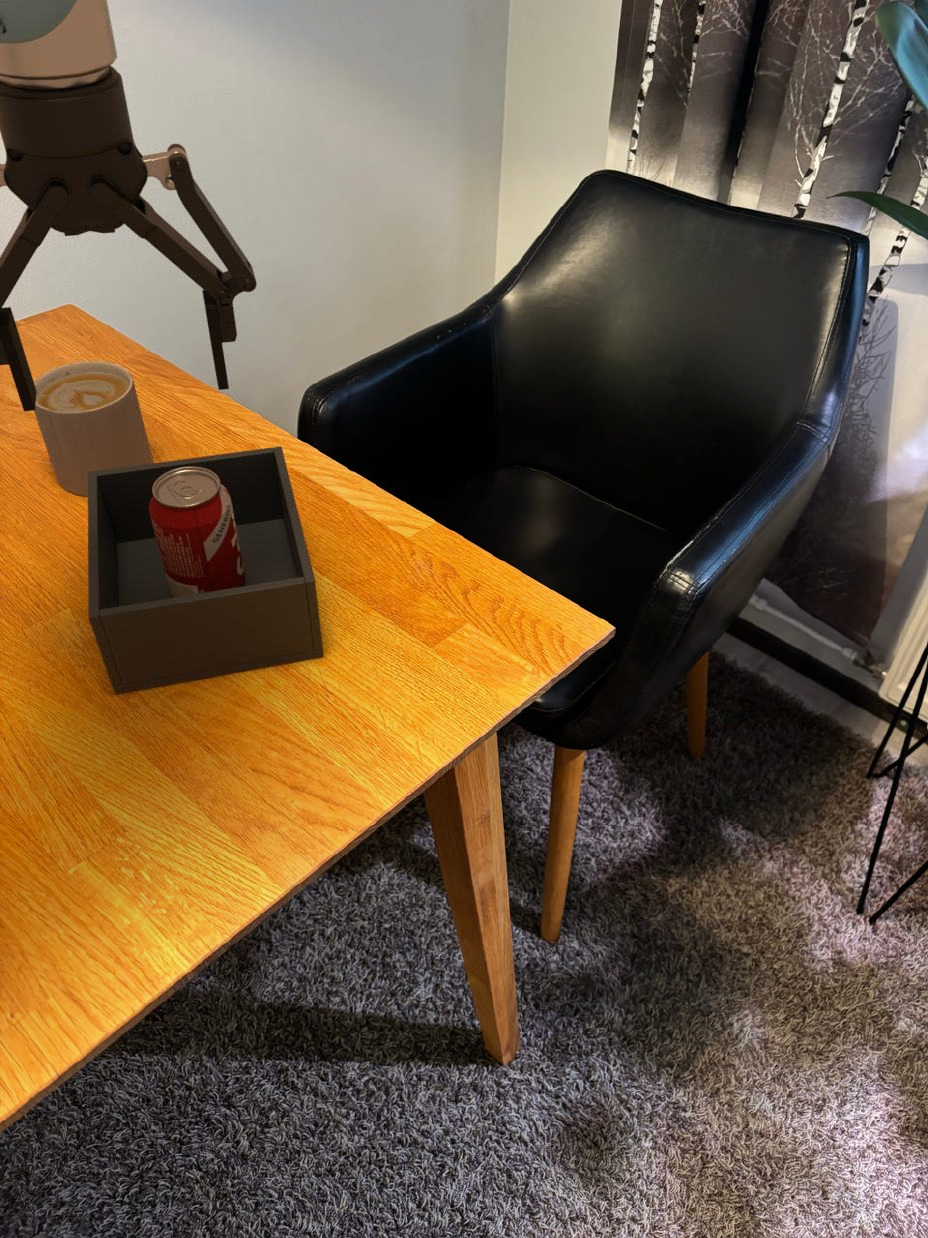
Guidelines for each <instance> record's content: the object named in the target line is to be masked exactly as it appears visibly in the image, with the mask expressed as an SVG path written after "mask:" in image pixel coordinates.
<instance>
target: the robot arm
mask: <svg viewBox="0 0 928 1238" xmlns="http://www.w3.org/2000/svg"><path fill="white" fill-rule="evenodd" d="M117 59H118V52H117V47H116V42H115V37H114V31H113V25H112V20H111V15H110V9H109V4H108V0H0V136H1V139H2V143H3V146H4V150H5V156H6V157H5V163H0V188H2V187H6V188H8V190H9V191H10V192H11V193H12V194H13V195H14V196H16V197H17V198H18V199H19V200H20V201H21V202H22V203H23V204H25V206H27V207H26V209H25V211H24V213H23V215H22V218H21V219H20V221H19V223H18V225H17V227H16V228H15V230H14V232H13V234H12V235H11V237H10V238H9V241H8V242H7V244H6V246H5V247H4V250H3V251H2V253H1V255H0V366H9V370H10V373H11V375H12V379H13V382H14V385H15V388H16V391H17V395H18V397H19V401H20V403H21V406H22V410H23V412H34V410H35V406H36V388H35V384H34V382H35V381H34V378H33V375H32V371H31V368H30V365H29V362H28V358H27V356H26V352H25V349H24V345H23V343H22V339H21V336H20V332H19V329H18V326H17V323H16V320H15V317H14V313H13V311H12V307H11V306H8V307H4V305H5V303H6V301H7V300H8V298H9V296H10V295H11V294H12V292H13V290H14V288H15V286H16V285H17V283H18V281H19V280H20V278H21V277H22V275H23V273H24V272H25V270H26V268H27V266H28V265H29V263H30V261H31V259H32V258H33V256H34V254H35V253H36V251H37V249H38V248H39V247H40V246H41V245H42V243H43V242H44V240H45V239H46V237H47V235H48V233H49V232H50V230H51V229H53V230H54V231H56V232H59V233H62V234H64V237H74V236H80V235H83V234H85V233H88V232H92V233H99V234H115V233H116V230H117V229H120V228H121V227H122V226H124V225H125V226H126V227H127V228H128V229H130V230H131V231H132V232H133V233H134V234H135V235H137V236H138V237H139V238H140V239H143V240H145V241H146V242H148V243H149V244H150V245H151V246H152V247H154V248H155V250H157V251H158V252H159V253H160V254H161V255H162V256H164V257H165V258H166V259H167V260H169V261H170V262H171V263H172V264H173V265H175V266H176V267H177V268H178V270H180V271H181V272H183V274H185V275H186V276H187V277H188V278H190V279H191V280H192V281H193V282H194V283H195V284H196V285H197V286H199V287H200V288H201V289H202V290H201V291H202V298H203V304H204V311H205V316H206V323H207V328H208V334H209V341H210V347H211V354H212V360H213V364H214V372H215V377H216V384H217V389H218V391H223V390H230V387H229V379H228V372H227V367H226V360H225V353H224V348H223V346H224V345H223V344H225V343H234V342H236V340H237V337H238V332H237V324H236V317H235V309H234V300H235V298H236V297H237V296H238V295H240V294H242V293H243V292H245V293H251V292H253V291H255V290H256V288H257V279H256V276H255V272H254V269H253V266H252V264H251V262H250V261H249V259H248V257H247V256H246V255H245V254H244V252H243V250H242V249H241V247H240V246H239V244H238V243H237V242H236V240H235V238H234V237H233V235H232V234H231V232H230V231H229V229H228V228H227V226H226V225H225V223H224V222H223V220H222V219H221V217H220V216H219V214H218V212H217V211H216V210H215V208H214V207H213V205H212V204H211V202H210V201H209V199H208V198H207V196H206V195H205V194H204V192H203V191H202V189H201V187H200V186H199V184H198V183H197V181H196V180H195V179H194V176H193V172H192V168H191V164H190V161H189V158H188V153H187V151H186V149H185V147H184V146H183V145H182V144H179V143H172V144H170V145H169V146H168V147H167V149H166V150H167V151H163V152H157V153H152V154H146V155H142V153H141V152H140V150H139V148H138V147H137V145H136V143H135V140H134V139H135V138H134V134H133V129H132V124H131V119H130V112H129V109H128V103H127V98H126V93H125V87H124V83H123V82H124V81H123V77H122V75H121V73H120V72H118V71H117V69H116V68H115V67H114V66H112V65H113V64H114V63H115V61H116V60H117ZM149 177H153V178H155V179H157V180H158V181H159V183H160V184H161V185H162V187H163V188H164V189H166V191H167V190H168V191H176V194H177V196H178V198H179V200H180V203H181V204H182V206H183V207H184V209H185V211H187V213H188V215H189V216H190V217H191V220H192V221H193V222H194V223H195V225H196V226H197V228H198V229H199V230H200V232H201V234H202V235H203V236H204V238H205V239H206V241H207V243H209V245H210V247H211V248H212V249H213V251H214V252H215V254H216V255H217V257H218V258H219V260H220V261H221V263H222V264H223V265H224V266H225V268H226V269H227V270H226V271H222V270H221V269H220V268H219V267H218V266H217V265H216V264H215V263H214V262H212V261H211V260H210V259H209V258H207V256H205V254H204V253H202V252H201V251H200V250H199V249H198V248H197V247H195V246H194V245H193V243H191V242H190V241H189V240H188V239H187V238H186V237H184V236H183V235H182V234H181V233H180V232H179V231H178V230H176V228H174V226H172V225H171V224H170V223H169V222H168V221H167V220H166V219H164V218H163V217H162V216H161V215H160V214H159V213H158V212H157V211H155V209H154V207H153V206H152V205H151V204H150V203H149V201H147V200H146V199H145V198H144V197H142V196H141V193H142V192H143V189H145V186H146V184H147V183H148V182H147V181H148V178H149Z"/></svg>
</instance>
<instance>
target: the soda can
mask: <svg viewBox="0 0 928 1238" xmlns="http://www.w3.org/2000/svg"><path fill="white" fill-rule="evenodd" d="M152 492H153V497H152V499H151V501H150V504H149V513H150V516H151V520H152V524H153V528H154V532H155V536H156V540H157V543H158V547H159V551H160V555H161V559H162V563H163V567H164V571H165V574H166V578H167V582H168V586H169V590H170V594H171V597H172V598H175V597H181V596H187V595H194V594H200V593H206V592H212V591H218V590H224V589H231V588H237V587H243V586H246V579H245V573H244V568H243V562H242V557H241V551H240V546H239V540H238V535H237V529H236V524H235V518H234V513H233V508H232V502H231V497H230V494H229V492H228V491H227V489H226V488H225V487H224V486H222V485H221V484H220V480H219V478H218V476H217V475H216V474H215V473H214V472H212V471H211V470H208V469H206V468H202V467H181V468H177V469H174V470H171V471H169V472H166V473H165V474H163V475H162V476H160V477H159V478H158V479H157V480H156V481H155V483H154V485H153V488H152Z"/></svg>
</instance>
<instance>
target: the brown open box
mask: <svg viewBox="0 0 928 1238" xmlns="http://www.w3.org/2000/svg"><path fill="white" fill-rule="evenodd" d="M181 467H202V468H206V469H208V470H211V471H212V472H214V473H215V474H216V475H217V476H218V478H219V480H220V484H221V485H222V486H224V487H225V488H226V489H227V491H228V492H229V494H230V497H231V502H232V508H233V513H234V518H235V524H236V529H237V535H238V540H239V546H240V551H241V557H242V562H243V568H244V573H245V579H246V586H243V587H237V588H231V589H224V590H218V591H212V592H206V593H200V594H194V595H187V596H181V597H175V598H172V597H171V594H170V590H169V586H168V582H167V578H166V574H165V571H164V567H163V563H162V559H161V555H160V551H159V547H158V543H157V540H156V536H155V532H154V528H153V524H152V520H151V516H150V513H149V504H150V501H151V499H152V497H153V492H152V488H153V485H154V483H155V481H156V480H157V479H158V478H159V477H160V476H162V475H163V474H165V473H166V472H169V471H171V470H174V469H177V468H181ZM87 555H88V556H87V561H88V563H87V566H88V567H87V582H88V583H87V585H88V587H87V589H88V590H87V591H88V593H87V595H88V596H87V597H88V600H87V601H88V602H87V603H88V607H87V609H88V612H87V613H88V614H87V615H88V617H87V618H88V621H89V624H90V627H91V629H92V631H93V632H92V633H93V635H94V638H95V641H96V644H97V647H98V651H99V653H100V655H101V658H102V661H103V664H104V667H105V670H106V673H107V676H108V679H109V682H110V684H111V687H112V690H113V693H114V695H119V694H125V693H130V692H136V691H141V690H148V689H153V688H157V687H158V688H159V687H164V686H169V685H175V684H181V683H186V682H191V681H197V680H203V679H208V678H214V677H221V676H225V675H231V674H235V673H237V674H238V673H242V672H248V671H253V670H259V669H264V668H269V667H275V666H281V665H286V664H291V663H298V662H303V661H308V660H313V659H319V658H323V657H324V647H323V637H322V629H321V622H320V621H321V620H320V611H319V602H318V594H317V585H316V579H315V575H314V571H313V567H312V563H311V559H310V554H309V551H308V547H307V542H306V539H305V535H304V529H303V526H302V523H301V518H300V515H299V511H298V506H297V502H296V499H295V495H294V490H293V487H292V483H291V477H290V474H289V471H288V466H287V462H286V459H285V455H284V451H283V447H282V446H280V445H279V446H273V447H266V448H258V449H251V450H243V451H235V452H228V453H219V454H212V455H206V456H205V455H204V456H198V457H191V458H189V457H188V458H183V459H176V460H168V461H167V460H166V461H161V462H153V463H152V464H145V465H137V466H130V467H122V468H115V469H107V470H100V471H93V472H88V496H87Z"/></svg>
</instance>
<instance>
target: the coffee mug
mask: <svg viewBox="0 0 928 1238" xmlns="http://www.w3.org/2000/svg"><path fill="white" fill-rule="evenodd" d="M34 384H35V388H36V406H35V410H34V411H33V413H34V415H35V418H36V421H37V424H38V427H39V430H40V433H41V436H42V439H43V442H44V445H45V448H46V451H47V455H48V457H49V460H50V464H51V467H52V469H53V472H54V475H55V479H56V481H57V483H58V485H59V486H61V488H62V489H64V490H65V491H67V492H68V493H71V494H74V495H77V496H83V497H88V472H93V471H100V470H107V469H115V468H122V467H130V466H137V465H145V464H152V463H154V460H153V456H152V452H151V447H150V443H149V439H148V435H147V431H146V426H145V423H144V419H143V418H144V417H143V414H142V410H141V406H140V402H139V397H138V394H137V389H136V385H135V382H134V379H133V376H132V374H131V372H130V371H129V370H128V369H126V368H125V367H123V366H122V365H119V364H116V363H112V362H108V361H102V360H84V361H77V362H71V363H67V364H63V365H60V366H58V367H55V368H52V369H49V370H48V371H46V372H45V373H42V374H41V375H40V376H39V377H37V379H35V381H34Z"/></svg>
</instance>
